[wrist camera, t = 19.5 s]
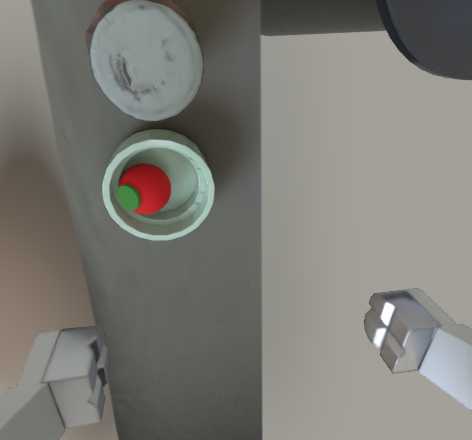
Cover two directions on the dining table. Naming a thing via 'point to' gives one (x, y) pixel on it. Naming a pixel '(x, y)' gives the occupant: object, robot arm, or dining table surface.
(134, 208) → the tomato
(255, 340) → the dining table surface
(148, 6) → the sauce bottle
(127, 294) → the dining table surface
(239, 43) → the dining table surface
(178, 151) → the bowl
